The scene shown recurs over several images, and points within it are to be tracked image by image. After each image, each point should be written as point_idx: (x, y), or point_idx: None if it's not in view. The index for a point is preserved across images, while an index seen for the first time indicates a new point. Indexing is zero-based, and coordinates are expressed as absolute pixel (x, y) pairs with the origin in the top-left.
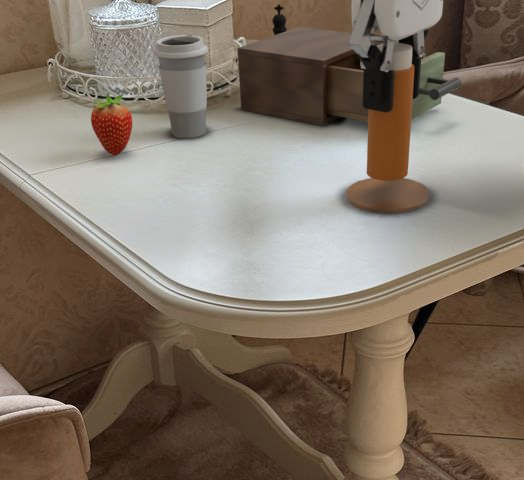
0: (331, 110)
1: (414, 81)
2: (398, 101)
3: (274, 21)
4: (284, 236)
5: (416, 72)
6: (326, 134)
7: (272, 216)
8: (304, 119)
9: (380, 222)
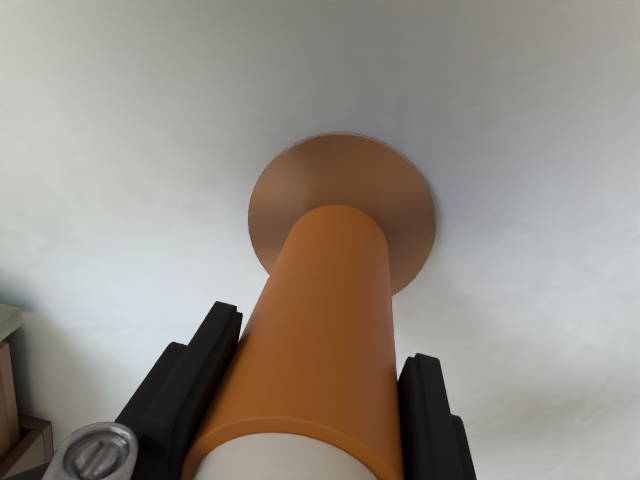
0: (12, 435)
1: (219, 356)
2: (380, 355)
3: None
4: (583, 352)
5: (200, 380)
6: (85, 408)
7: (495, 392)
8: (50, 457)
9: (480, 203)
